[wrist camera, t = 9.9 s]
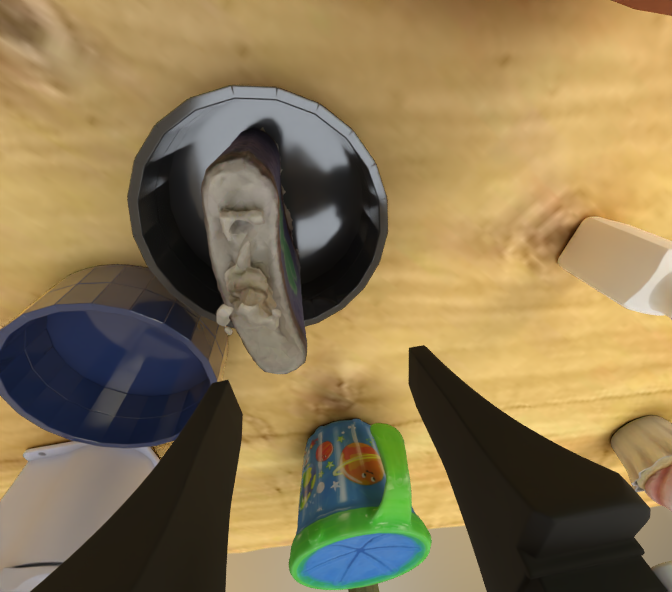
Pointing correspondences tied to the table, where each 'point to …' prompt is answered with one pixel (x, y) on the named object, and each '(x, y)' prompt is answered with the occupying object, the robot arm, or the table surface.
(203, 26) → the table surface
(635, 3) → the potted cactus
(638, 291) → the pepper shaker
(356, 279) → the charcoal bowl
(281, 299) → the flask
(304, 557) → the snack cup
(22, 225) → the table surface
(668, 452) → the cupcake
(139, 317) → the indigo bowl
